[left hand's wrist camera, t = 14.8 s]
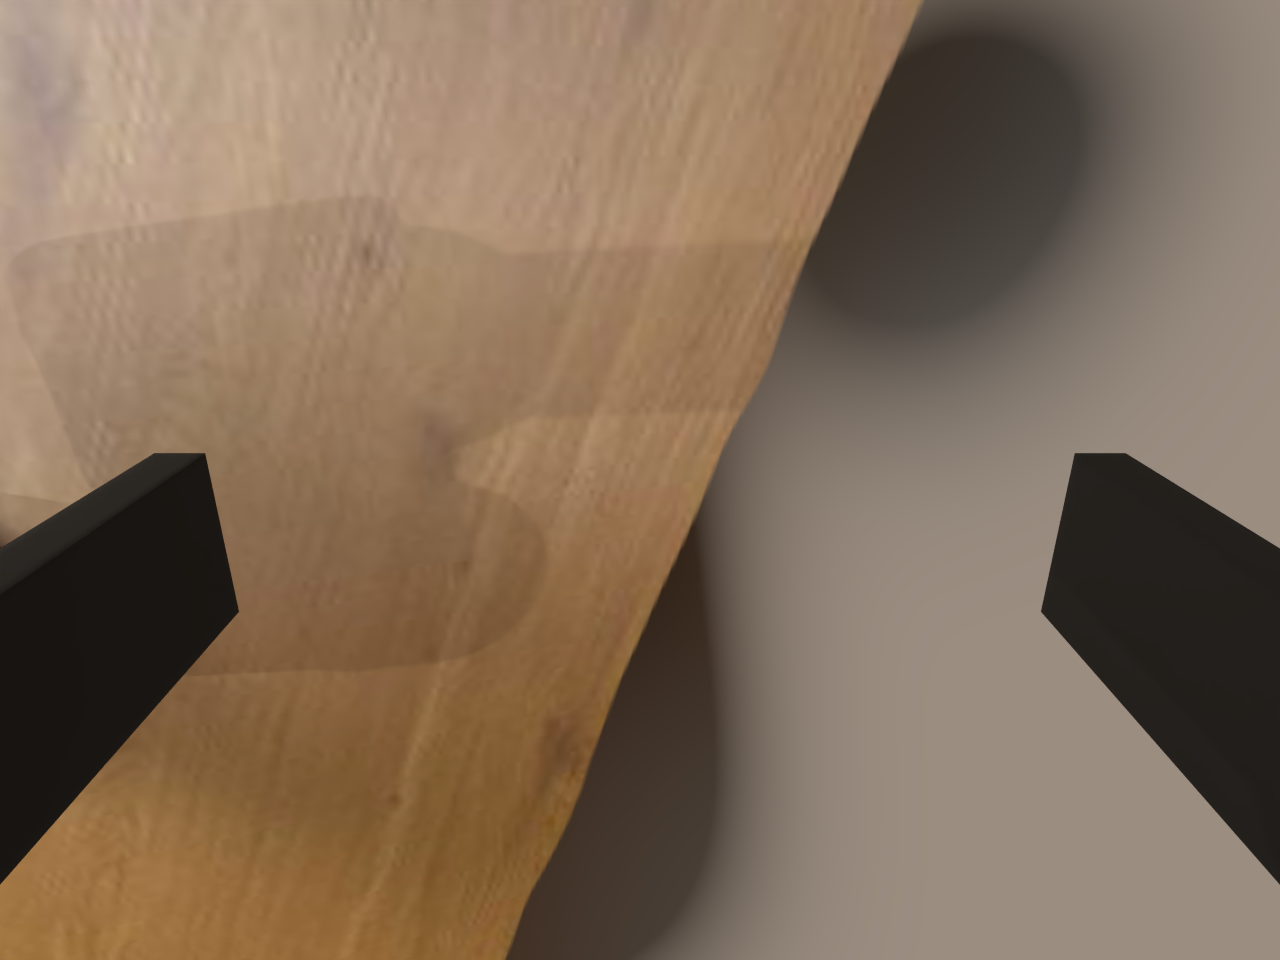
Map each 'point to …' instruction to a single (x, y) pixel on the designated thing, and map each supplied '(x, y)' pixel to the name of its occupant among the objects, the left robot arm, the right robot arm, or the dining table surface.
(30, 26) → the dining table surface
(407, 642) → the dining table surface
